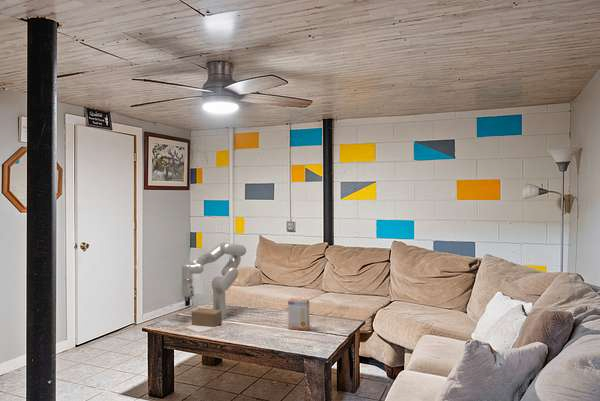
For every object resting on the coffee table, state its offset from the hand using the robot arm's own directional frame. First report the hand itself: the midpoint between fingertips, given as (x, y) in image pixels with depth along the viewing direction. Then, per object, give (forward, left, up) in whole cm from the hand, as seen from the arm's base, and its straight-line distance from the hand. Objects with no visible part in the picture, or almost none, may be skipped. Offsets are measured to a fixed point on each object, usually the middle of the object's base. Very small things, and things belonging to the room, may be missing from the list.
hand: (187, 305), depth 325 cm
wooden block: (-3, +5, -8) cm, 10 cm away
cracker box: (-45, +72, -13) cm, 86 cm away
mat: (-1, +17, -13) cm, 22 cm away
